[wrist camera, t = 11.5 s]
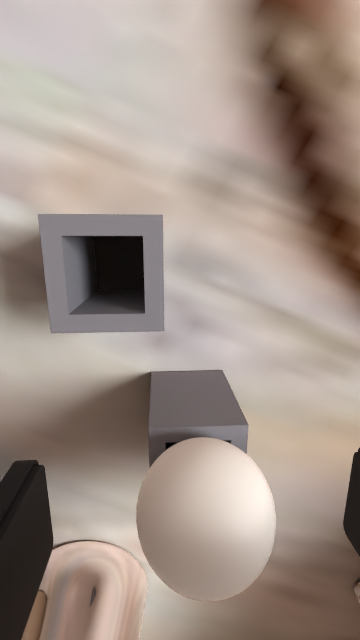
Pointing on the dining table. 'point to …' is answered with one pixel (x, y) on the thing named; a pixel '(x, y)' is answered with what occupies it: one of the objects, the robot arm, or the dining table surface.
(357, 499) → the robot arm
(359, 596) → the decorative jar
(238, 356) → the dining table surface
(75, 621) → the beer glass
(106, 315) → the stand
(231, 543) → the ivory ball
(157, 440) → the stand
